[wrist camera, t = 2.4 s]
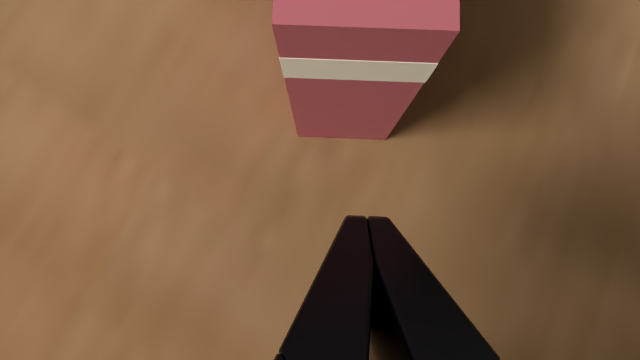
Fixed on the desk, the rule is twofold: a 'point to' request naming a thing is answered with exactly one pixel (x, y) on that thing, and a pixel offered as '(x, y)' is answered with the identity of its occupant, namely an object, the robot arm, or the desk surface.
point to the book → (359, 60)
